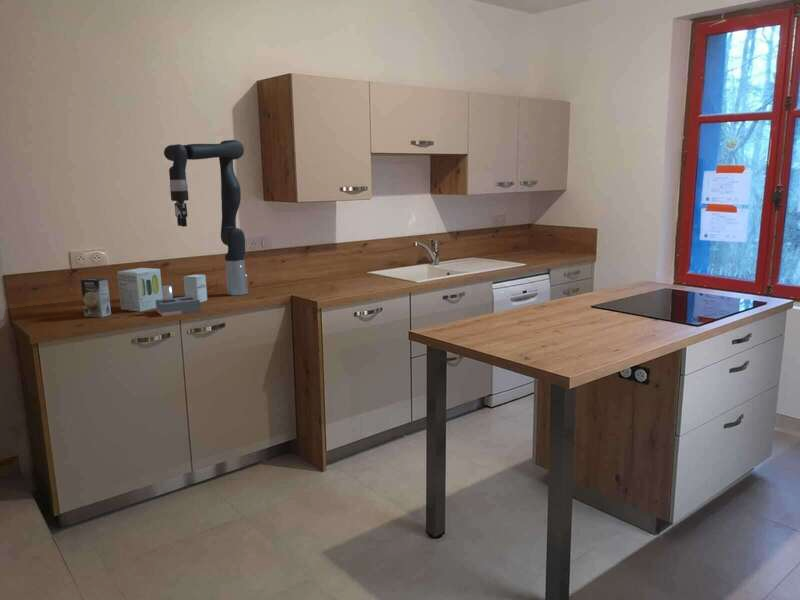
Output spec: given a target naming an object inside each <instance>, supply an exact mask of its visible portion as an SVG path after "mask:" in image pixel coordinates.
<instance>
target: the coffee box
mask: <svg viewBox="0 0 800 600" xmlns="http://www.w3.org/2000/svg"><path fill="white" fill-rule="evenodd" d="M80 286H81V293H82V294H81V295H82V303H83V304H82V305H83V312H84V313H83V315H84V317H88V318H91V317H93V318H104V317H107V316H111V315H112V310H111V300H110V289H109V280H108V278H107V277H105V278H104V277H89V278H83V279H80Z"/></svg>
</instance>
